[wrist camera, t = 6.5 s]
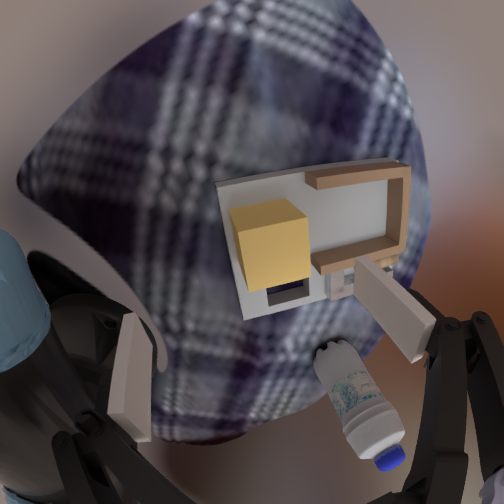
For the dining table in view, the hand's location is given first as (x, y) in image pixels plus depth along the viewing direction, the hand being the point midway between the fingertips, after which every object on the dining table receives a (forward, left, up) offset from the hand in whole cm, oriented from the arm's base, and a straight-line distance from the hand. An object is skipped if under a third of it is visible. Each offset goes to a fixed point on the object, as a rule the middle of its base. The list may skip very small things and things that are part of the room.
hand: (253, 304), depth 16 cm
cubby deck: (+9, -3, -12) cm, 15 cm away
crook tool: (+13, -7, -10) cm, 18 cm away
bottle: (+11, -22, -12) cm, 27 cm away
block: (+3, 0, -10) cm, 10 cm away
